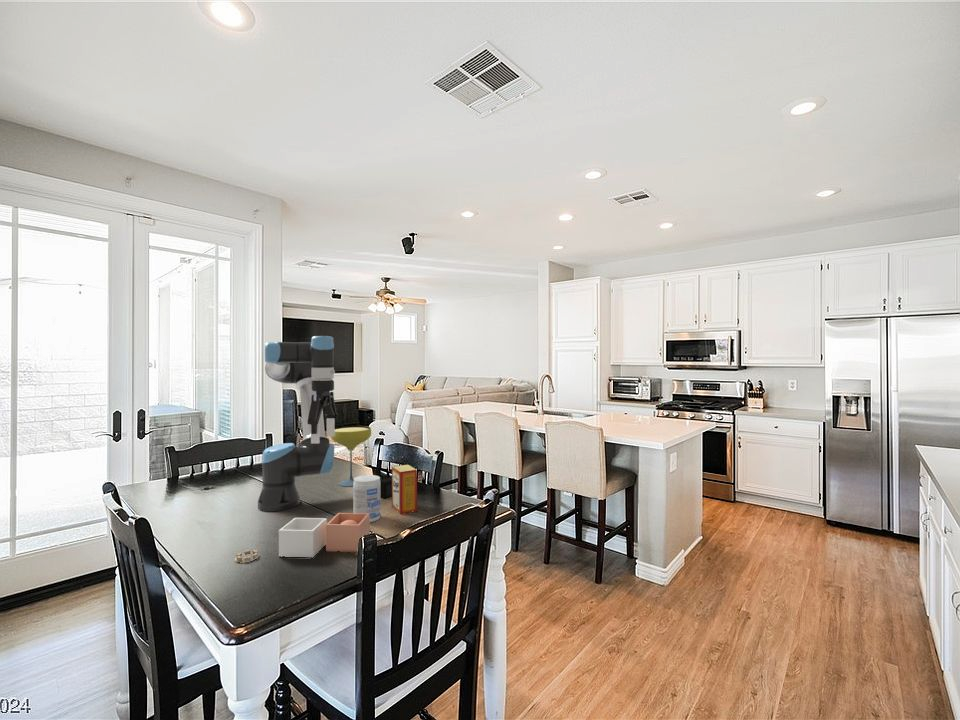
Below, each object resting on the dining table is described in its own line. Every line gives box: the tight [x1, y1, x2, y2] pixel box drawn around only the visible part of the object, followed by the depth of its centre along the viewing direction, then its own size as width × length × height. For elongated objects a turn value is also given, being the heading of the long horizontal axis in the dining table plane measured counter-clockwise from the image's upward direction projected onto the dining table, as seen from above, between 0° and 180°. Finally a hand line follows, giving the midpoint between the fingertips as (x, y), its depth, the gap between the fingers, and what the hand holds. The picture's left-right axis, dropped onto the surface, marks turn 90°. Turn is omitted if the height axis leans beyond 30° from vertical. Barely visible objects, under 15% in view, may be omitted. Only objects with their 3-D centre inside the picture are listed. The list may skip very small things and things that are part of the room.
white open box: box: [278, 517, 328, 559], centre depth 138 cm, size 10×10×8 cm
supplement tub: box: [352, 474, 382, 523], centre depth 164 cm, size 10×10×15 cm
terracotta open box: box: [325, 512, 371, 553], centre depth 142 cm, size 10×10×8 cm
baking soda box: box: [391, 464, 418, 515], centre depth 175 cm, size 10×6×16 cm
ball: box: [341, 520, 358, 525], centre depth 142 cm, size 7×7×7 cm
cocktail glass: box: [329, 425, 372, 488], centre depth 209 cm, size 18×18×25 cm
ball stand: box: [234, 549, 259, 564], centre depth 133 cm, size 6×6×1 cm
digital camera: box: [380, 476, 392, 500], centre depth 191 cm, size 10×5×7 cm, turn 143°
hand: (323, 439), depth 163 cm, fingers open, 13 cm apart
